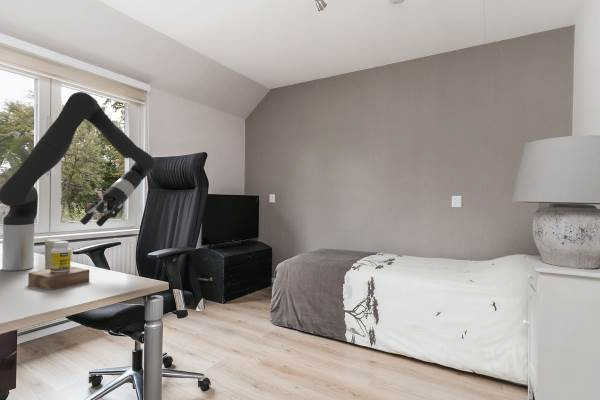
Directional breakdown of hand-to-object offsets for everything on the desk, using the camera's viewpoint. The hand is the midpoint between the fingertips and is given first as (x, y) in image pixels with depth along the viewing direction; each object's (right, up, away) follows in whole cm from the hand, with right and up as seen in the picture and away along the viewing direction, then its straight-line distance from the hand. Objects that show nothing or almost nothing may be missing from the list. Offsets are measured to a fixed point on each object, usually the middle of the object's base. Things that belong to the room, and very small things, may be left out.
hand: (90, 224), depth 120 cm
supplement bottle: (-4, -15, -9) cm, 18 cm away
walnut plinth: (-5, -19, -9) cm, 22 cm away
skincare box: (-16, -19, +5) cm, 25 cm away
